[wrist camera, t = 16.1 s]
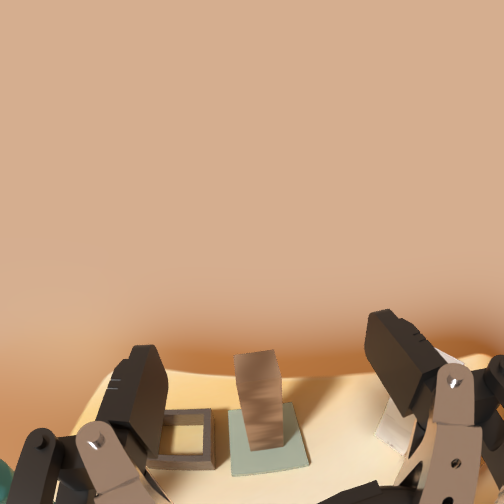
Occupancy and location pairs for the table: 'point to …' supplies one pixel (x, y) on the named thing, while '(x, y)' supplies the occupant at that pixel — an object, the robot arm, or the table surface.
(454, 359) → the small box
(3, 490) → the beverage bottle
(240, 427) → the mat
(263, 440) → the walnut post
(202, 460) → the holder
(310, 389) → the table surface
